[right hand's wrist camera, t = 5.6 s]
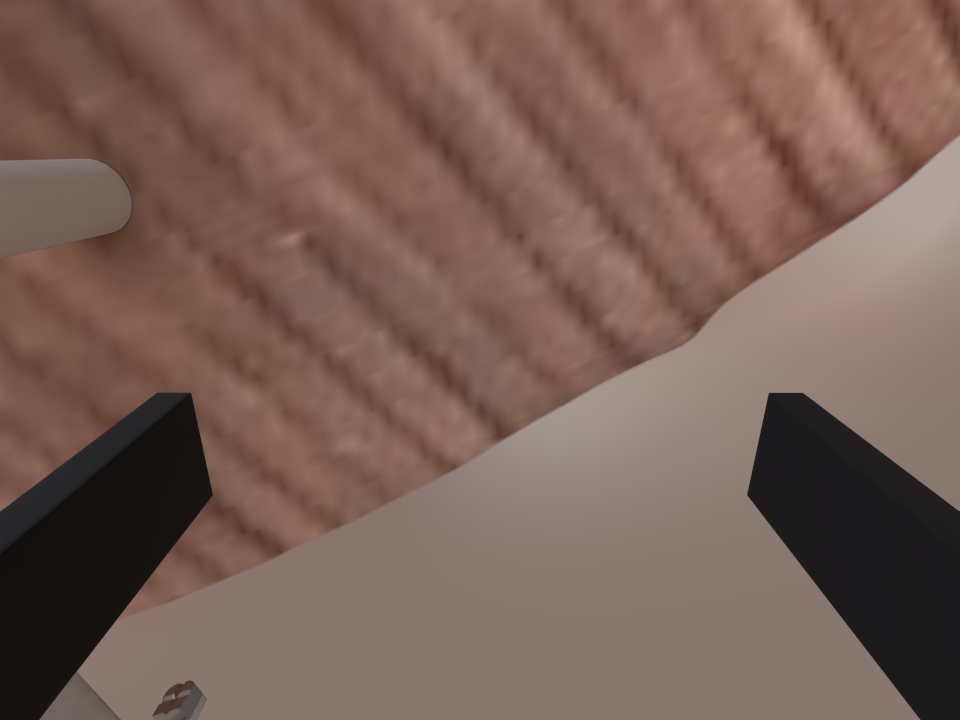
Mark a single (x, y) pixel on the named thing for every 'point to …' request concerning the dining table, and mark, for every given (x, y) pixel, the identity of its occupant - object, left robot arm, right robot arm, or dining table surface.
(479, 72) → the dining table surface
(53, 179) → the bottle
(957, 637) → the right robot arm
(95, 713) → the left robot arm
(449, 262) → the dining table surface
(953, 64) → the dining table surface
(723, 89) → the dining table surface
